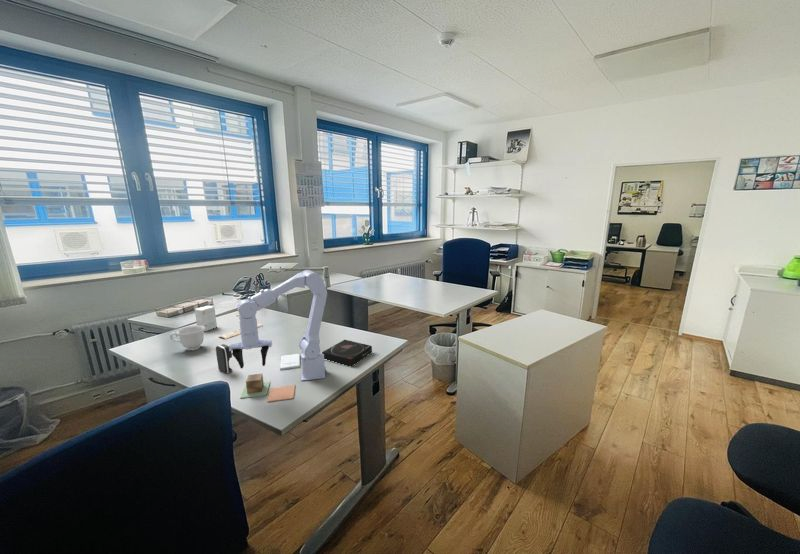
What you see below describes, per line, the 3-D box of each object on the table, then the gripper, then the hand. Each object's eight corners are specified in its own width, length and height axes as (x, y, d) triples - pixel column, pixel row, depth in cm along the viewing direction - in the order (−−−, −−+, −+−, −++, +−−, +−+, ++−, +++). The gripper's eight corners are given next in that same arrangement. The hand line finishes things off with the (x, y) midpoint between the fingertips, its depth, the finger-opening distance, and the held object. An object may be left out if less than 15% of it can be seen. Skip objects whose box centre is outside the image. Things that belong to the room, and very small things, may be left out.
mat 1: (270, 382, 129) (270, 381, 128) (266, 395, 120) (266, 394, 120) (245, 385, 126) (245, 384, 126) (240, 398, 118) (240, 397, 118)
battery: (235, 370, 139) (232, 345, 136) (226, 374, 136) (223, 349, 133) (226, 366, 143) (223, 342, 140) (218, 369, 140) (214, 345, 137)
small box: (210, 325, 194) (208, 305, 191) (217, 327, 191) (214, 306, 188) (197, 330, 187) (194, 308, 184) (203, 332, 184) (200, 310, 181)
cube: (263, 385, 126) (262, 373, 125) (261, 391, 121) (260, 379, 120) (249, 386, 125) (248, 375, 124) (247, 393, 120) (245, 381, 119)
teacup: (174, 347, 163) (171, 328, 161) (208, 341, 170) (205, 323, 168) (170, 356, 153) (167, 336, 151) (206, 350, 159) (204, 331, 157)
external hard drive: (299, 356, 153) (299, 368, 141) (281, 359, 151) (280, 371, 139) (299, 353, 153) (299, 365, 141) (281, 355, 150) (279, 367, 139)
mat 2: (295, 385, 126) (295, 385, 126) (293, 398, 118) (293, 397, 117) (270, 389, 124) (270, 388, 124) (267, 402, 115) (267, 401, 115)
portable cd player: (343, 346, 163) (343, 339, 162) (372, 353, 155) (371, 345, 154) (321, 359, 149) (321, 351, 148) (351, 368, 141) (350, 359, 140)
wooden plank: (225, 340, 173) (225, 337, 172) (217, 338, 176) (217, 335, 176) (263, 327, 193) (262, 324, 192) (255, 325, 196) (255, 322, 196)
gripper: (224, 338, 113) (229, 373, 116) (268, 334, 116) (272, 368, 119) (230, 330, 120) (234, 364, 122) (271, 327, 123) (274, 360, 126)
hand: (253, 365), depth 121 cm, fingers open, 7 cm apart
